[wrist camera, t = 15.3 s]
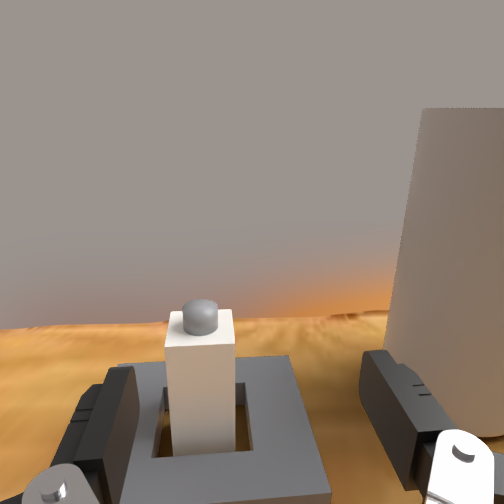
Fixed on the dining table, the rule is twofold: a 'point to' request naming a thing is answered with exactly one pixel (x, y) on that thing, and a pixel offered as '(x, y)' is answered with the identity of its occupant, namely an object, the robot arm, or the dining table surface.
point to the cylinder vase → (454, 267)
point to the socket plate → (231, 463)
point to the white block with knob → (201, 379)
